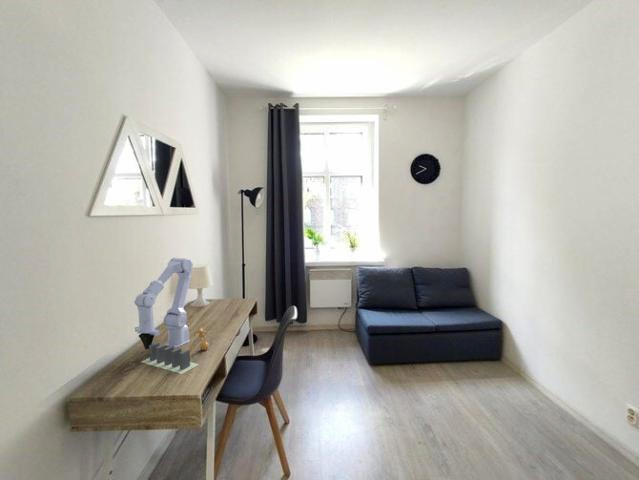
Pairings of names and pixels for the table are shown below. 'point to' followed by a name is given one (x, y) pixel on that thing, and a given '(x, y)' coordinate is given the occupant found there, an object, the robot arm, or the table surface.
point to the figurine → (204, 344)
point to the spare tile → (160, 353)
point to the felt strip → (169, 366)
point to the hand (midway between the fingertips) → (148, 348)
